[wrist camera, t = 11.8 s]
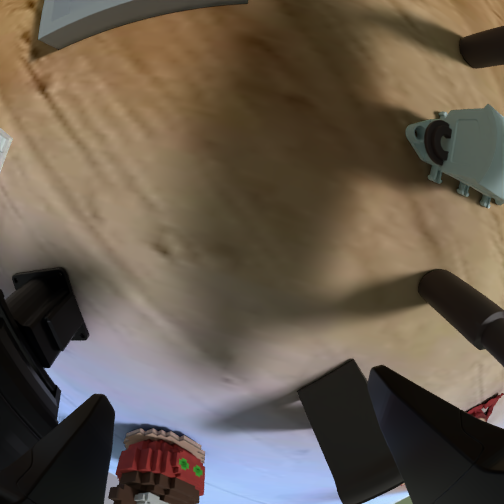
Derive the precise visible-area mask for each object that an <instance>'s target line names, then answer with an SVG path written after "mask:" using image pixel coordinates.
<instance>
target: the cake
mask: <svg viewBox="0 0 504 504" xmlns="http://www.w3.org/2000/svg"><path fill="white" fill-rule="evenodd" d="M123 443H124V444H125V447H126V450H125V451H122V453H121V456H120V458H119V462H118V466H117V470H116V475H117V477H118V478H119V481H120V482H119V485H117V487H111V488H110V492H109V497H108V498H109V499H111V500H113V501H114V504H198V503H199V496H202V495H204V479H205V467H204V466H203V463H204V460H205V451H203V450H201V445H199V444H198V443H196V442H194V441H193V440H191V439H189V438H188V437H186V436H185V435H184V436H181V437H179V436H178V435H176V434H175V433H173V432H171V431H170V432H167V433H166V432H165V431H163V430H160V431H157V430H155V429H154V428H152V429H150V430H147V431H144V430H143V429H141V428H140V429H137V430H134V431H132V432H129V433H127V434H126V437H125V439H124V442H123Z"/></svg>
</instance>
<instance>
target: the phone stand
mask: <svg viewBox="0 0 504 504" xmlns="http://www.w3.org/2000/svg"><path fill="white" fill-rule="evenodd" d="M367 385H368V381H367V380H366V378H365V376H364V375H363V373H362V372H361V370H360V368H359V367H358V365H357V364H356V362H355V360H354V359H353V360H351V361H350V362H348V363H347V364H345V365H343V366H342V367H340V368H338V369H337V370H335V371H333V372H332V373H330V374H328V375H326V376H325V377H323V378H321V379H319V380H318V381H316V382H314V383H312V384H310V385H308V386H307V387H305V388H303V389H301V390H299V391H297V392H298V395H299V397H300V400H301V402H302V405H303V407H304V409H305V412H306V414H307V417H308V419H309V421H310V424H311V426H312V428H313V431H314V433H315V435H316V438H317V440H318V442H319V445H320V447H321V450H322V452H323V454H324V457H325V459H326V461H327V464H328V466H329V468H330V471H331V473H332V475H333V478H334V481H335V484H336V487H337V492H338V495H339V497H340V500H341V501H342V503H343V504H362V503H365V502H367V501H369V500H371V499H374V498H376V497H378V496H380V495H382V494H384V493H386V492H388V491H390V490H392V489H394V488H396V487H398V486H400V485H402V484H403V483H404V481H403V478H402V476H401V474H400V471H399V469H398V467H397V464H396V462H395V460H394V457H393V455H392V453H391V451H390V448H389V446H388V444H387V442H386V439H385V437H384V435H383V433H382V430H381V428H380V426H379V423H378V420H377V417H376V413H375V410H374V407H373V404H372V401H371V398H370V395H369V392H368V386H367Z"/></svg>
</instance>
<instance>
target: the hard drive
mask: <svg viewBox="0 0 504 504" xmlns="http://www.w3.org/2000/svg"><path fill="white" fill-rule="evenodd" d="M12 140H13V138H12V137H10V136H9V135H8V134H7V133H6V132H4V131H3V130H2V129H1V128H0V172H1V169H2V166H3V163H4V160H5V158H6V155H7V152H8V150H9V147H10V145H11V142H12Z"/></svg>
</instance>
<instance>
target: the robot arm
mask: <svg viewBox="0 0 504 504" xmlns="http://www.w3.org/2000/svg"><path fill="white" fill-rule="evenodd" d="M59 272H60V273H61V274H62V276H61V275H60V273H59ZM12 280H13V283H14V286H15V289H16V291H15V292H14V293H12V294H11V295H10V296H9V297H8V298H7V299H4V294H3V292H2V290H1V289H0V504H104V498H105V490H106V483H107V476H108V471H109V465H110V459H111V453H112V445H113V431H114V420H115V411H114V409H113V407H112V405H111V404H110V402H109V400H108V399H107V397H106V396H105V395H103V394H93V395H92V396H91V397H90V398H89V399H87V400H86V401H85V402H84V403H83V404H82V405H80V406H79V407H78V408H77V409H76V410H75V411H73V412H72V413H71V414H70V415H69V416H68V417H67V418H65V419H64V420H63V421H62V422H61V423H60V424H58V421H57V415H58V408H59V401H60V395H61V390H60V389H59V387H58V386H57V385H55V384H54V382H53V381H52V380H51V378H50V377H49V375H48V374H47V372H46V371H45V368H50V367H51V365H52V364H53V362H54V361H55V359H56V358H57V356H58V355H59V353H60V352H61V351H64V349H65V348H66V346H67V345H68V343H69V342H70V341H71V340H87V338H88V337H89V332H88V330H87V328H86V325H85V323H84V320H83V317H82V315H81V312H80V309H79V307H78V304H77V301H76V299H75V296H74V293H73V291H72V288H71V285H70V282H69V279H68V275H67V272H66V270H65V269H64V268H61V267H60V268H52V269H45V270H38V271H31V272H24V273H17V274H15V275H14V276H13V277H12ZM82 333H83V334H84V335H83V334H82ZM367 386H368V392H369V395H370V398H371V401H372V404H373V407H374V410H375V413H376V417H377V420H378V423H379V426H380V428H381V430H382V433H383V435H384V437H385V439H386V442H387V444H388V446H389V448H390V451H391V453H392V455H393V457H394V460H395V462H396V464H397V467H398V469H399V471H400V474H401V476H402V478H403V481H404V483H405V486H406V488H407V490H408V493H409V495H410V498H411V500H412V502H413V504H504V429H502V428H500V427H497V426H494V425H492V424H489V423H487V422H485V421H482V420H480V419H478V418H476V417H474V416H472V415H470V414H468V413H467V412H465V411H463V410H460V409H459V408H457V407H456V406H454V405H452V404H450V403H448V402H447V401H445V400H443V399H441V398H439V397H438V396H436V395H434V394H432V393H431V392H429V391H427V390H425V389H424V388H422V387H420V386H419V385H417V384H415V383H413V382H412V381H410V380H408V379H406V378H405V377H403V376H401V375H400V374H398V373H396V372H395V371H393V370H391V369H389V368H388V367H386V366H384V365H379V366H376V367H373V368H372V369H371V371H370V375H369V380H368V385H367Z"/></svg>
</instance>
